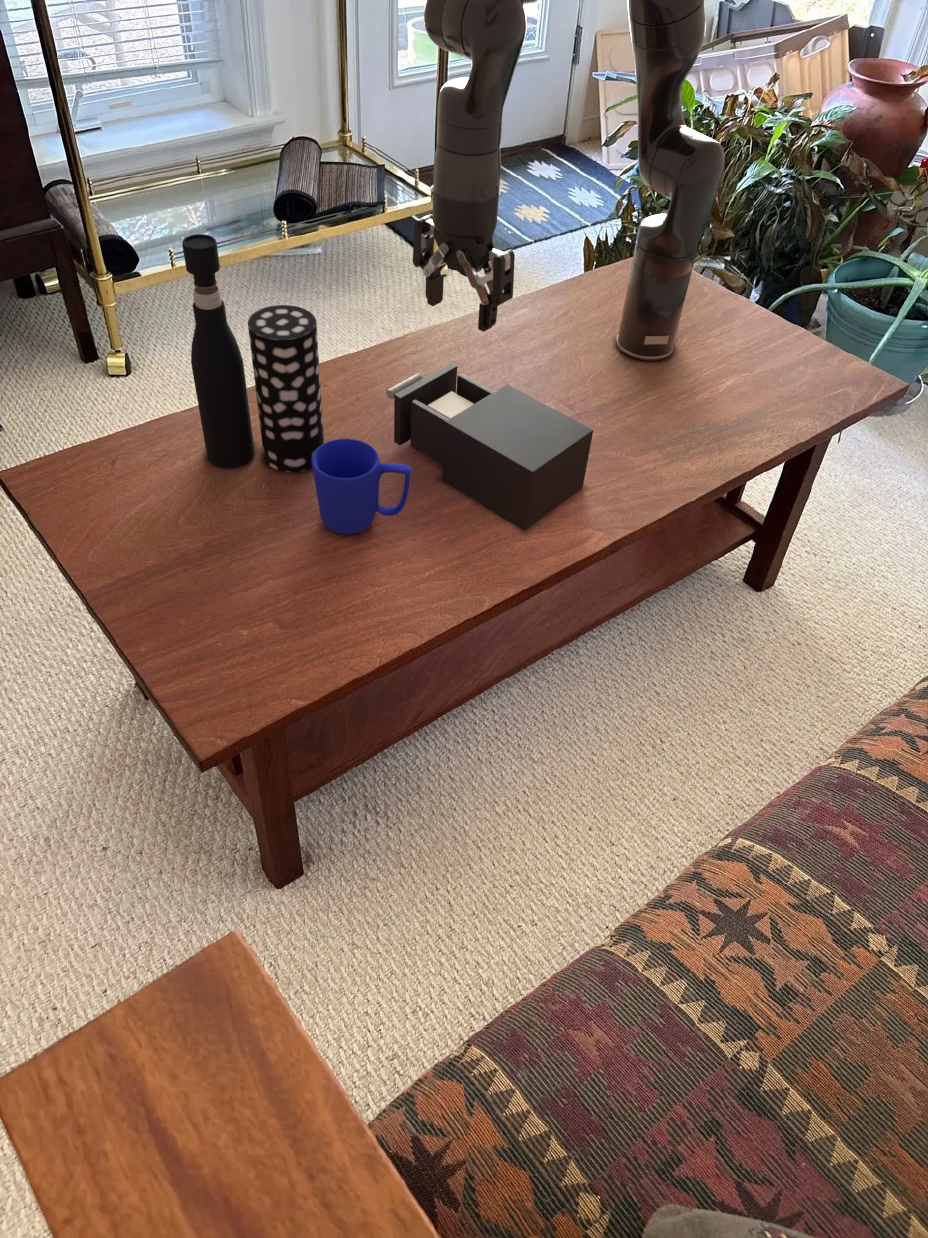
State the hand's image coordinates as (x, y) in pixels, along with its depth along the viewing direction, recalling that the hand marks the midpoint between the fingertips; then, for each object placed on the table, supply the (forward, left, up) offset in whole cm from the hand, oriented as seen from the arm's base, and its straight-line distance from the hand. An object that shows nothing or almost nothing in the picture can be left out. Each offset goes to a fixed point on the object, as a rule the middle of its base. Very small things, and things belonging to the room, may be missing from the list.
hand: (459, 315), depth 119 cm
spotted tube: (+14, -17, -21) cm, 30 cm away
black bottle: (+19, -24, -21) cm, 37 cm away
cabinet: (+2, +11, -21) cm, 23 cm away
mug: (+20, -1, -21) cm, 29 cm away
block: (0, 0, -19) cm, 19 cm away
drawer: (0, -1, -20) cm, 20 cm away
